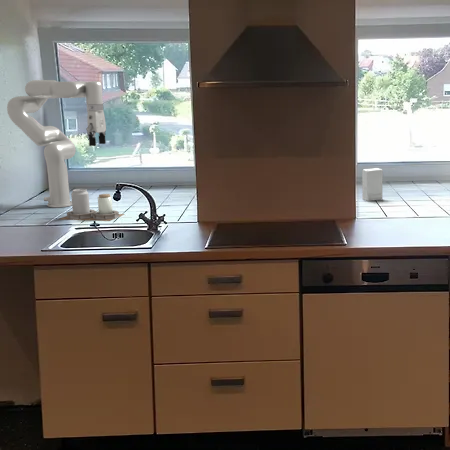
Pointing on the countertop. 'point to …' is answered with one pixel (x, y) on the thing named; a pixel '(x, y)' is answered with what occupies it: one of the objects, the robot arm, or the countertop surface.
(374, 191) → the skincare box
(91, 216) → the stand
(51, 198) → the robot arm
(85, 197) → the can
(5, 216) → the countertop surface
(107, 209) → the jar
